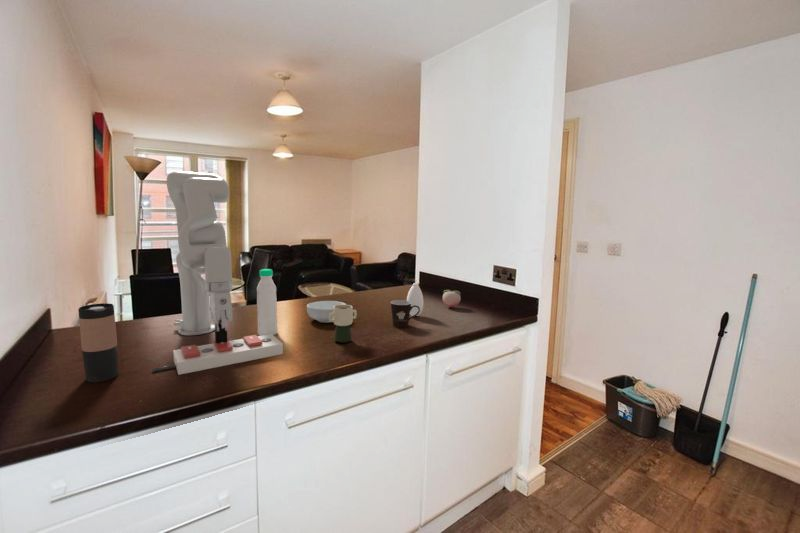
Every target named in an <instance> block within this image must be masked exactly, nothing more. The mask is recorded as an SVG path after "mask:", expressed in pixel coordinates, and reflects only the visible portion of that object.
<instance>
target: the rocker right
mask: <svg viewBox="0 0 800 533" xmlns="http://www.w3.org/2000/svg"><path fill="white" fill-rule="evenodd" d="M257 336H258V335H257V334H252V335H246V336H243V337H242V339H243V340H244V341H245V342H246V343H247V344H248V346H249V347H251V346H256V345H262V341H261V340H260V339H259V338H258V337H257Z"/></svg>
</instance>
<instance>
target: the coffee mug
mask: <svg viewBox="0 0 800 533" xmlns="http://www.w3.org/2000/svg"><path fill="white" fill-rule="evenodd" d="M413 307H417V308H418V309H419V311H418V313H419V312H420V308H419V307H418V306H416V305H414V306H412V307H411V302H409V301H407V300H405V299H403V300H401V299H399V300H397V299H396V300H392V301H390V309H391V320H392V327H393V326H394V327H393V328H396V327H398V329H405V328H404V327H406V328H407V326H408V327H409V322H410V320H411V319H413V318H416V317H415V316H416V315H417V314H418V313H417V314H415V315H414V316H411V314H410V311H411V309H412V308H413Z"/></svg>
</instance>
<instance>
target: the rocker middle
mask: <svg viewBox="0 0 800 533" xmlns="http://www.w3.org/2000/svg"><path fill="white" fill-rule="evenodd" d="M229 341H230V340H228V339H227V342H221V343H216V342H215V340H213V344H214V346H215V347H216V349H217V350H218V352H223V351H228V350H233V346H232V345H231V344H230V342H229Z"/></svg>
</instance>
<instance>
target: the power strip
mask: <svg viewBox="0 0 800 533" xmlns="http://www.w3.org/2000/svg"><path fill="white" fill-rule="evenodd" d="M256 336H257V337H258V338H259V339H260V340H261V341H262V345H256V346H251V347H249V346H248V344H247V343H246V342H245V341H244V340H243V338H239V339H233V340H228V341H229V342H230V344H231V345H232V346H233V350H228V351H223V352H218V350H217V349H216V347H215V346H214V343H209V344H201V345H196V346H197V347H198V349H199V351H200V356H195V357H189V358H184V355H183V353H182V350H181V348H178V349H173V351H172V352H173V353H172V354H173V355H172V356H173V363H174V364H170V365H165V366H160V367H159V366H158V367H154V368H152V369H151V372H153V373H155V372H161V371H166V370H171V369H176V371H177V374H178V376H179V375H183V374H184V375H185V374H189V373H193V372H194V373H195V372H200V371H204V370H209V369H215V368H220V367H224V366H230V365H233V364H234V365H235V364H240V363H244V362H249V361H254V360H259V359H264V358H270V357H274V356H278V355H280V356H281V355H284V344H283V342H282V341H280V339H279V338H277V337H275V335H272V334H268V335H262V336H260V335H256Z"/></svg>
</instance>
